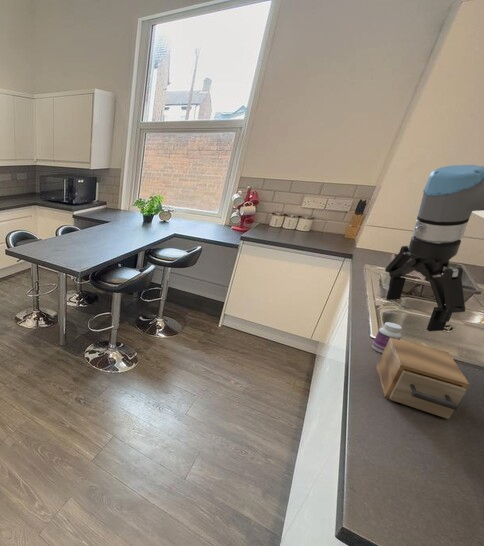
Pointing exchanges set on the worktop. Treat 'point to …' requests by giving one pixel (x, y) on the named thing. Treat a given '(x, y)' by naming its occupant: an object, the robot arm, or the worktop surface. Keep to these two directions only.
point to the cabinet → (416, 364)
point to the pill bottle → (386, 336)
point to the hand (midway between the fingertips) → (412, 313)
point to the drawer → (427, 393)
